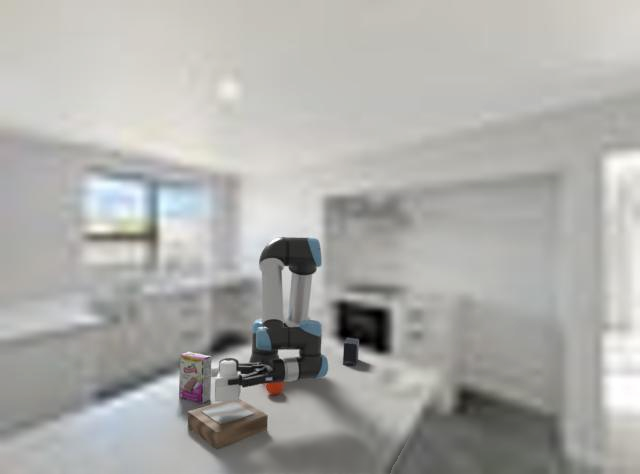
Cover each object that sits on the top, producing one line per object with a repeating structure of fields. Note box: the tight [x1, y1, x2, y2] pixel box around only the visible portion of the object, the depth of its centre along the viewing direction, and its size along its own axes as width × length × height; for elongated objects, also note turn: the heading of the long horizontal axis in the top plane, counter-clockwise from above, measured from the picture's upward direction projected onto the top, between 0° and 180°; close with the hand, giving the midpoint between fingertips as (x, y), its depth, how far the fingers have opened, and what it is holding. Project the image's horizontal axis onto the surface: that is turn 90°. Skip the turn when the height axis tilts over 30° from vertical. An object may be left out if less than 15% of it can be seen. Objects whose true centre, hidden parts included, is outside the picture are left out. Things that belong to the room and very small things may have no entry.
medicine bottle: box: [214, 357, 242, 402], centre depth 138 cm, size 7×7×12 cm
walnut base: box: [187, 398, 269, 450], centre depth 138 cm, size 18×18×5 cm
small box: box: [342, 337, 360, 367], centre depth 210 cm, size 11×6×10 cm, turn 168°
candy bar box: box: [178, 351, 212, 404], centre depth 161 cm, size 11×5×16 cm, turn 65°
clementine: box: [265, 381, 286, 395], centre depth 168 cm, size 8×7×7 cm
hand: (213, 377), depth 136 cm, fingers closed on medicine bottle, 9 cm apart
